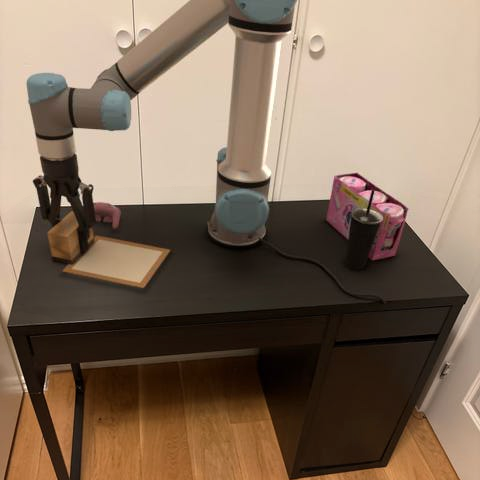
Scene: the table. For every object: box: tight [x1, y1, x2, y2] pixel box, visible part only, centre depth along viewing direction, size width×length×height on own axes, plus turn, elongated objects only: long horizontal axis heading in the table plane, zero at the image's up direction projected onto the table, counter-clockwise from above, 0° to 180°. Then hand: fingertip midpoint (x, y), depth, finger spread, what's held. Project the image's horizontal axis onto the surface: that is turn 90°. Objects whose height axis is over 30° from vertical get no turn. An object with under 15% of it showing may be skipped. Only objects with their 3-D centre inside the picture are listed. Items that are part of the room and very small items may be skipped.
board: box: [61, 235, 171, 289], centre depth 122 cm, size 20×17×1 cm
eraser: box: [46, 210, 95, 265], centre depth 120 cm, size 5×11×8 cm, turn 165°
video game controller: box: [93, 201, 122, 229], centre depth 134 cm, size 10×5×7 cm, turn 84°
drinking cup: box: [345, 190, 383, 271], centre depth 122 cm, size 8×8×20 cm
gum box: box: [325, 172, 409, 261], centre depth 134 cm, size 24×8×14 cm, turn 24°
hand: (73, 248), depth 122 cm, fingers closed on eraser, 5 cm apart
